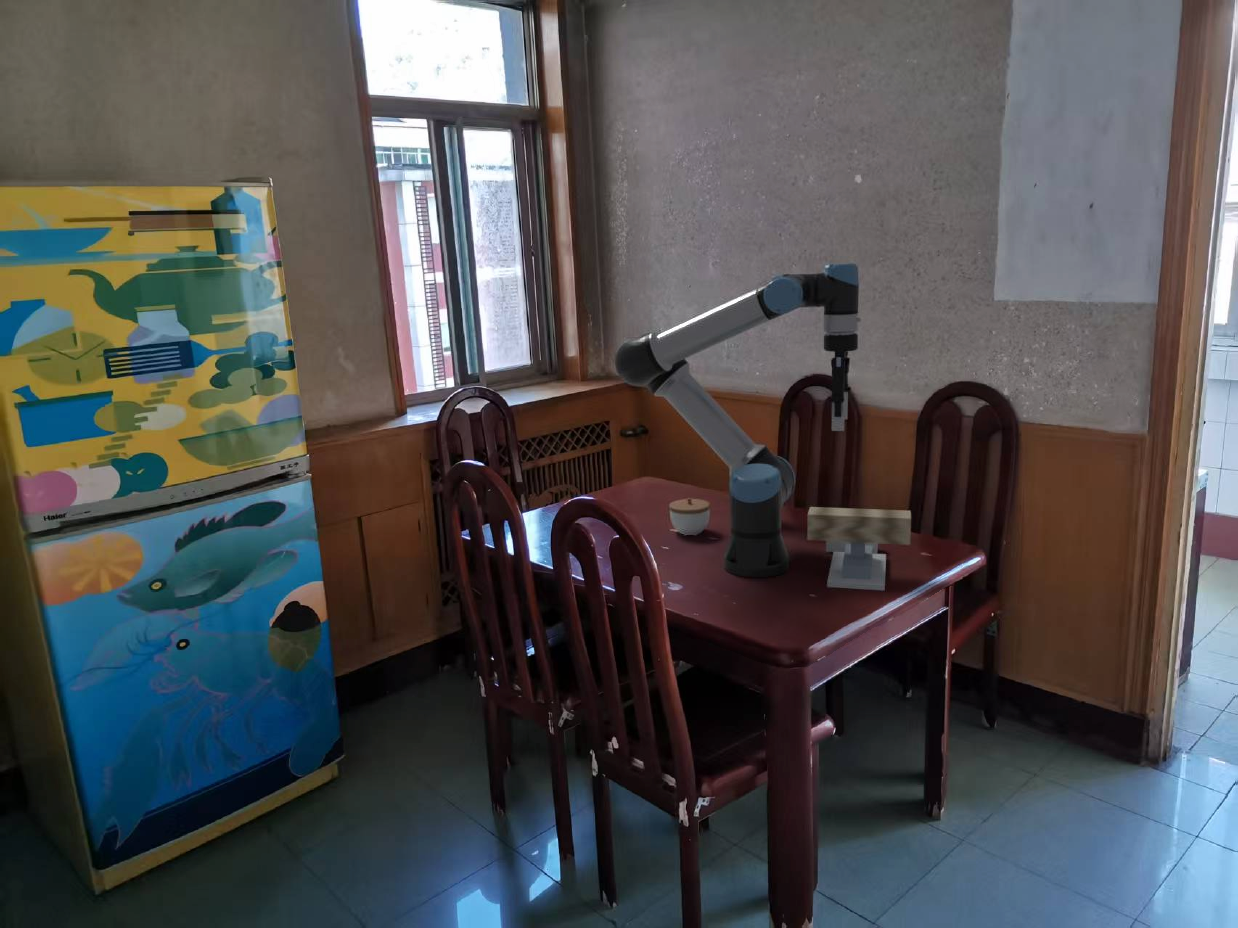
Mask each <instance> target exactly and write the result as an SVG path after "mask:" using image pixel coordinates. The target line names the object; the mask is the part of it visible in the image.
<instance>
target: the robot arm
mask: <svg viewBox="0 0 1238 928" xmlns="http://www.w3.org/2000/svg"><path fill="white" fill-rule="evenodd" d="M859 285H860V282H859V267H858V265H857V264H855V263H853V262H849V263H848V262H846V263H845V262H844V263H843V262H842V263H828V264H825V265H824V269H823V272H819V273H817V272H816V273H797V274H796V273H792V274H789V273H785V274H777V275H774V276H772V277H771V280H770V282H768V283H766V284H764V285H762V286H760V287H758V288H755V289H753V290H751V291H749V292H747V293H745V294H742V295H740V296H738V297H736V298H734V299H731V300H729V301H728V302H725V303H723V304H721V305H719V306H717V307H715V308H712V309H709V310H708V311H706V312H703V313H701V314H699V315H697V316H695V317H692V318H691V319H689V320H686V321H685V322H682V323H680V324H678V325H675V326H674V327H671V328H669V329H668V330H665V331H663V332H655V331H652V332H649V333H645V334H641V335H640V336H637V337H633V338H630V339H629V340H627V341H625V342H623V343H622V344H621V345H620V347H618V350H617V352H616V354H615V358H614V366H615V370H616V373H617V374H618V376H619V378H620V379H621V380H622V381H623V382H625V383H627V384H628V385H631V386H633V387H644V386H645V387H646V388H647V389H648V391H650V393H652V395H653V396H654V397H661V398H662V397H663V398H665V400H667V402H668V403H669V404H670V405H671V406H672V408H673V409H675V411H677V413H679V415H680V416H681V417H682V418H683V419H684V421H686V422H687V423H688V424H689V426H690V427H691V428H693V431H695V432H696V433H697V434H698V435H699V436H700V437H701V439H702V440H703V441H704V442H705V443H706V444H707V445H708V446H709V448H711V450H713V451H714V453H715V454H716V455H717V456H718V457H719V458H720V459H721V461H723V463H725V465H726V466H727V467H728V469H729V483H728V487H729V488H728V490H729V509H730V512H729V513H730V514H729V515H730V536H729V540H728V542H727V546H726V549H725V551H724V556H723V568H724V570H726V571H727V572H729V573H730V574H733V575H736V576H739V577H746V578H768V577H775V576H778V575H781V574H784V573H785V572H786V571H788V570H789V568H790V557H789V554H788V551H787V548H786V545H785V541H784V539H783V536H782V507H783V506H784V504H785V503H786V501H788V500H789V499H790V497H791V496H792V494H793V492H794V489H795V486H796V475H795V471H794V468H793V467H792V465H791V464H790V462H788V460H787V459H785V458H783V457H781V456H778V455H775V454H773V452H772V451H771V450H770V448H768V446H766V445H765V444H758V443H755V442H754V441H753V439H751V437H749V435H748V434H747V433H746V432H745V431H744V430H743V429H742V428H741V427H740V426H739V425H738V424H737V423H736V422H735V420H734V419H732V417H731V416H730V415H729V414H728V413H727V412H726V411H725V409H723V408H722V406H720V404H719V403H718V402H717V401H716V400H715V399H714V398H713V397H712V396H711V395H710V394H709V392H708V391H706V389H705V388H704V387H703V386H702V385H701V384H700V383H699V381H697V380H696V378H695V377H694V376H693V375H692V374H691V372H690V363H689V362H688V361H687V360H686V359H687V358H690V357H692V356H693V355H697V354H698V353H700V352H703V351H705V350H708V349H709V348H711V347H712V348H713V347H714V346H716V345H719V344H720V343H723V342H725V341H727V340H729V339H731V338H733V337H736V336H738V335H740V334H743V333H745V332H747V331H749V330H751V329H754V328H756V327H758V326H760V325H762V324H765V323H767V322H769V321H771V320H774V319H776V318H779V317H781V316H783V315H785V314H788V313H790V312H792V311H795V310H797V309H800V308H821V307H822V308H823V332H825V334H824V335H823V350H824V351H826V352H834V357H832V358H831V360H830V364H831V365H830V366H831V377H832V386H831V387H832V388H831V397H830V398H828V403H831V431H832V432H834V431H835V432H844V431H845V420H848V418H849V417H848V415H849V414H848V411H849V409H848V408H849V407H848V405H849V404H848V402H849V393H848V392H851V389H852V387H851V386H849V382H848V381H849V378H848V377H849V372H850V364H851V363H850V362H851V361H850V360H851V358H850V357H848V355H849V352H853V351H857V350H858V346H859V343H858V341H859V340H858V339H859V338H858V337H859V335H858V334H857V333H856V332H857V331H858V327H859V323H860V322H861V321H862V319H861V317H859V314H858V313H859V297H860V296H859V295H860V294H859V293H860V292H859V289H860V288H859V287H860V286H859Z"/></svg>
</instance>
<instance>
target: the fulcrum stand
mask: <svg viewBox="0 0 1238 928" xmlns="http://www.w3.org/2000/svg"><path fill="white" fill-rule="evenodd" d="M832 553H833V554H832V558H831V562H830V566H829V567H830V568H829V572H828V577H827V581H826V582H827V584H826V588H837V589H838V588H839V589H840V588H841V589H852V590H853V589H856V590H870V591H871V590H872V591H884V592H885V587H886V566H887V565H886V564H887V554H885V553H877V554H873V546H869V545H865V543H860V542H851V545H849V544H846V548H845V552H832Z"/></svg>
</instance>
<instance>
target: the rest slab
mask: <svg viewBox="0 0 1238 928" xmlns="http://www.w3.org/2000/svg"><path fill="white" fill-rule="evenodd" d="M846 544H849V545H851V542H839V541H825V552H827V553H833V552H845V548H846ZM865 545H869V546H873V554H879V553H878V550H879V543H865Z"/></svg>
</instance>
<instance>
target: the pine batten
mask: <svg viewBox="0 0 1238 928" xmlns="http://www.w3.org/2000/svg"><path fill="white" fill-rule="evenodd" d="M911 531H912V512H911V510H905V509H904V510H902V509H901V510H899V509H898V510H897V509H877V508H874V509H873V508H853V507H852V508H848V507H847V508H846V507H826V506H825V507H823V506H822V507H820V506H819V507H818V506H809V510H808V512H807V532H806V533H807V541H822V542H823V541H824V542H826V541H839V542H860V543H878V544H879V545H882V544H884V545H885V544H887V545H903V546H905V545H906V546H911V536H912V535H911Z"/></svg>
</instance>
